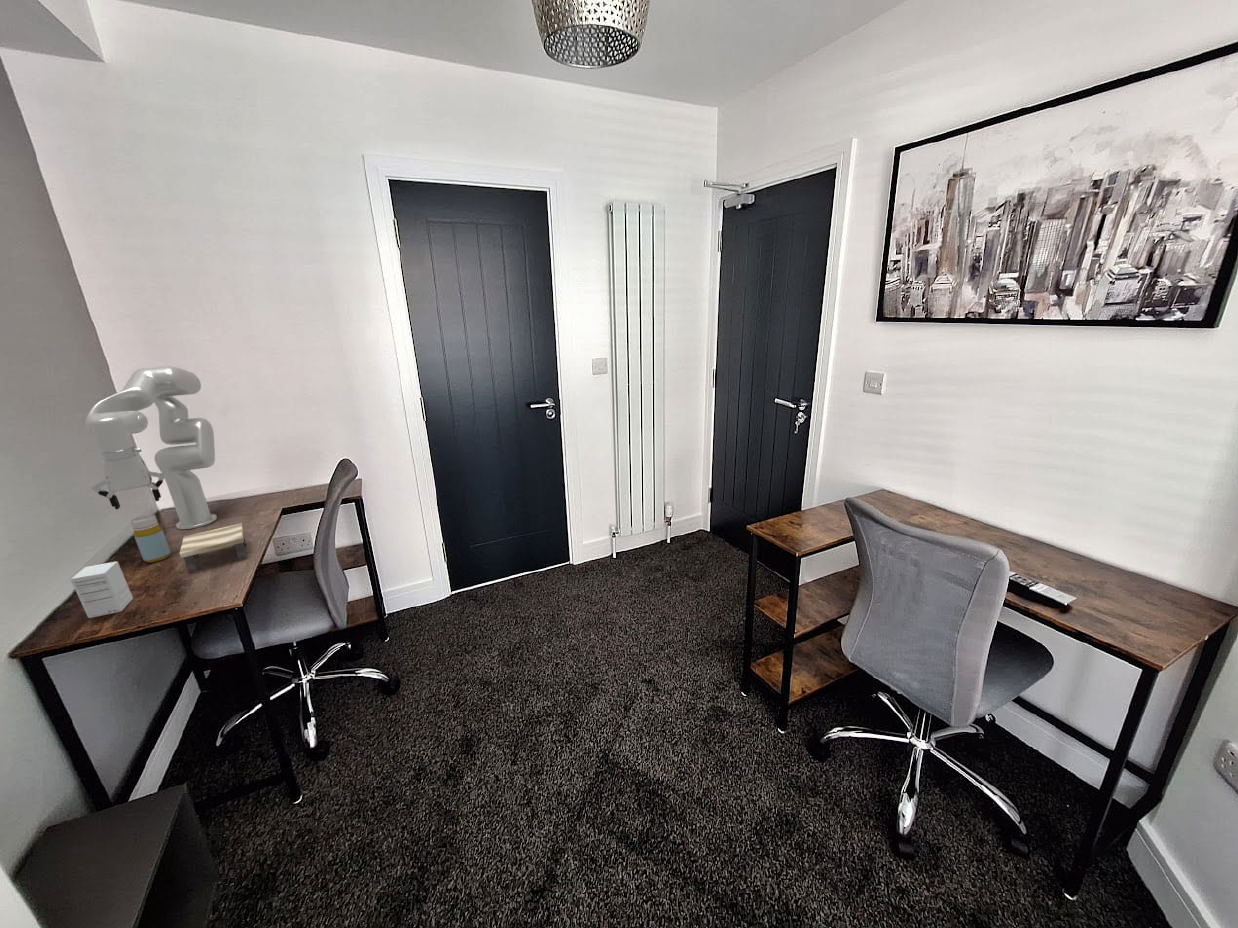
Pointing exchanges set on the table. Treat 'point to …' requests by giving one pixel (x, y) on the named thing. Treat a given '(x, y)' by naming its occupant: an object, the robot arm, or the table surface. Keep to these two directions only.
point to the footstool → (212, 543)
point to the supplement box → (102, 589)
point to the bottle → (150, 538)
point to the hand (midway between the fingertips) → (138, 504)
